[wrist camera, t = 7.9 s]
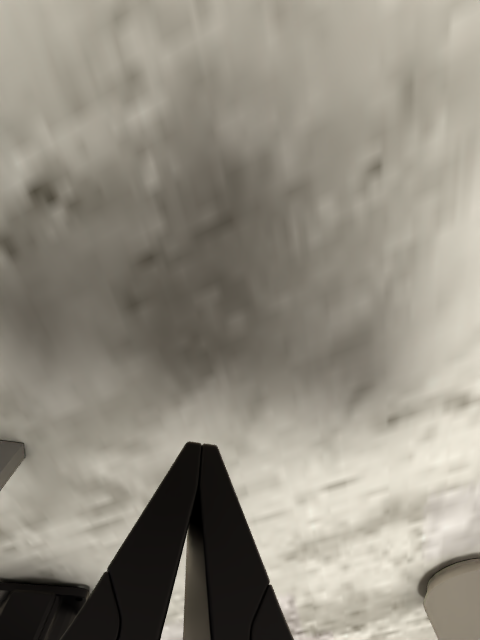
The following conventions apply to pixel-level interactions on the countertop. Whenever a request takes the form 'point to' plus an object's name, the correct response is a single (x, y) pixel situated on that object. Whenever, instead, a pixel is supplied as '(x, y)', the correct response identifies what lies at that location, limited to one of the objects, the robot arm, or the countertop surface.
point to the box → (9, 459)
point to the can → (455, 601)
